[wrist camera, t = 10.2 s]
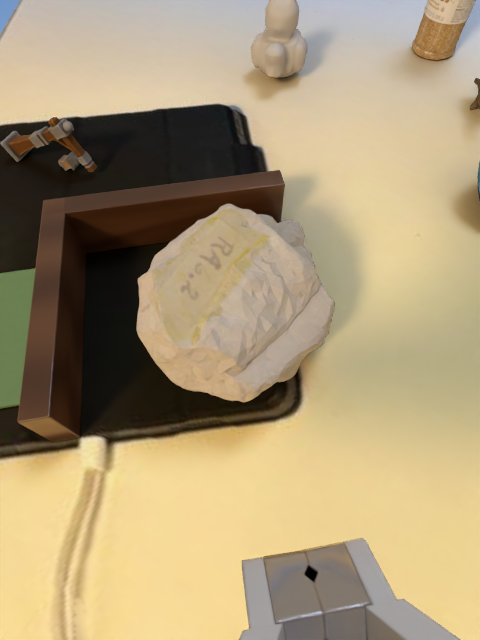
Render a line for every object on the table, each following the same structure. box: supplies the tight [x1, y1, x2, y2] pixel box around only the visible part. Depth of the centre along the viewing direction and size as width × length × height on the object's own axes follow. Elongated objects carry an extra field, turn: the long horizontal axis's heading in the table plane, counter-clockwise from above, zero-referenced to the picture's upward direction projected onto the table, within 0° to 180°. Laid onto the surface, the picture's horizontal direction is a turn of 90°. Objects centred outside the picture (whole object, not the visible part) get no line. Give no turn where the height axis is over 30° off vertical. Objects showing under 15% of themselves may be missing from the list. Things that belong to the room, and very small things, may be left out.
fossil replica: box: [136, 204, 335, 402], centre depth 22 cm, size 12×8×10 cm
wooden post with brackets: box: [0, 117, 97, 172], centre depth 32 cm, size 2×8×4 cm, turn 69°
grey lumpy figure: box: [251, 0, 307, 78], centre depth 37 cm, size 5×7×8 cm
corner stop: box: [18, 170, 285, 442], centre depth 24 cm, size 15×16×4 cm
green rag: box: [0, 268, 36, 409], centre depth 25 cm, size 10×6×1 cm, turn 10°
